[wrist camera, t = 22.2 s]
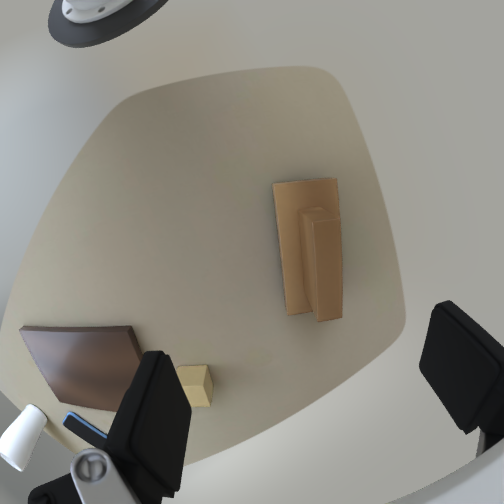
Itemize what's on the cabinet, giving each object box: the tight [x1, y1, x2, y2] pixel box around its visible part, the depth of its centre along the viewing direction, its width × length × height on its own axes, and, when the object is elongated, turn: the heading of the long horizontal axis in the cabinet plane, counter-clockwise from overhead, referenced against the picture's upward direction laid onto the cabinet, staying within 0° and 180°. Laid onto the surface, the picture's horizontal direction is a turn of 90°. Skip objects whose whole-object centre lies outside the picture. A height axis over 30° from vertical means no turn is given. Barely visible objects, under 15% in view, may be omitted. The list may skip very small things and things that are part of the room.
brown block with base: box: [272, 178, 343, 322], centre depth 21 cm, size 5×11×8 cm, turn 8°
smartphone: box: [63, 412, 107, 450], centre depth 34 cm, size 7×1×15 cm
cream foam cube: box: [176, 365, 213, 407], centre depth 28 cm, size 4×4×4 cm
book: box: [19, 326, 143, 412], centre depth 29 cm, size 14×20×1 cm
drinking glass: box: [0, 404, 47, 472], centre depth 27 cm, size 7×7×15 cm
